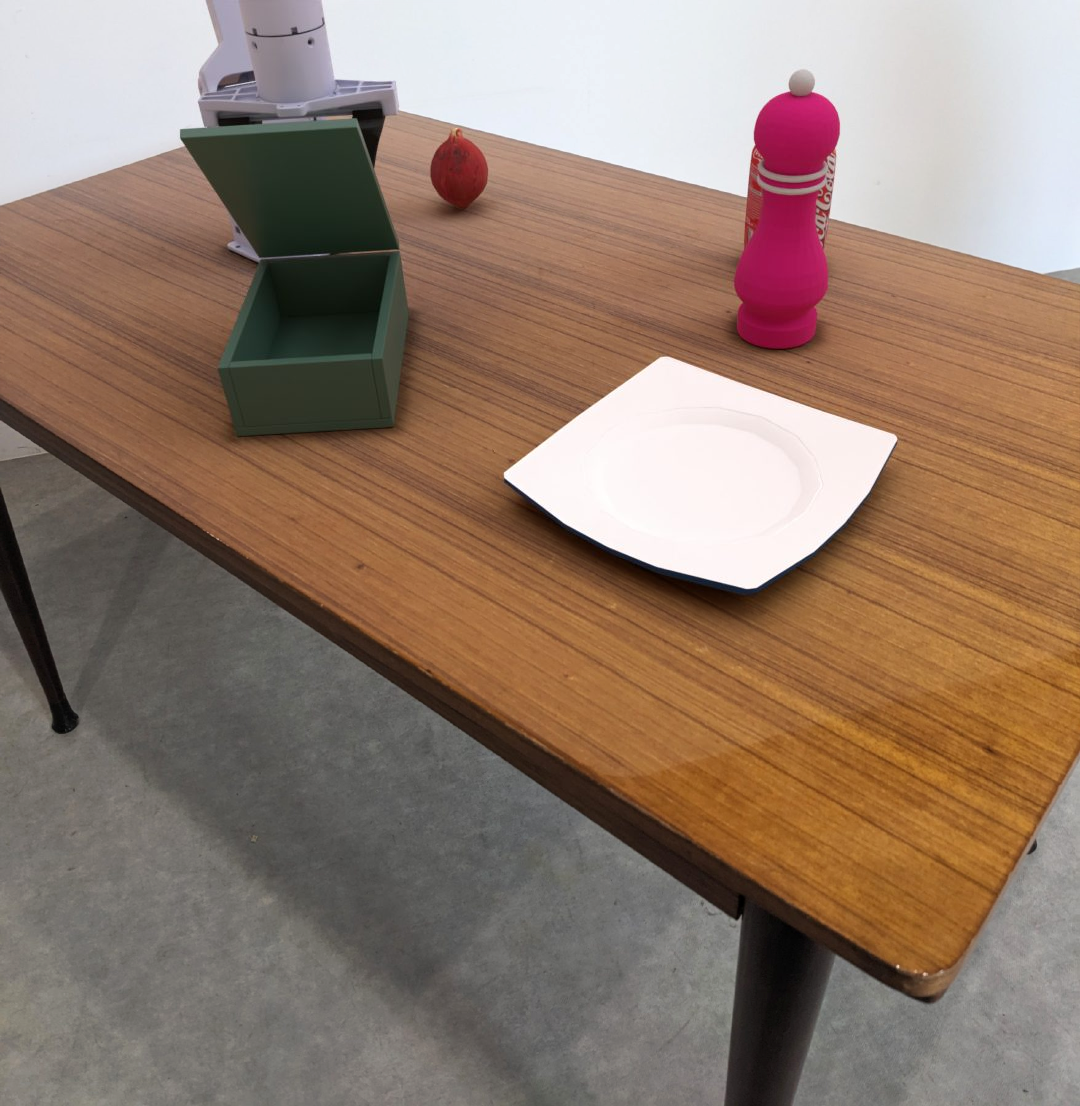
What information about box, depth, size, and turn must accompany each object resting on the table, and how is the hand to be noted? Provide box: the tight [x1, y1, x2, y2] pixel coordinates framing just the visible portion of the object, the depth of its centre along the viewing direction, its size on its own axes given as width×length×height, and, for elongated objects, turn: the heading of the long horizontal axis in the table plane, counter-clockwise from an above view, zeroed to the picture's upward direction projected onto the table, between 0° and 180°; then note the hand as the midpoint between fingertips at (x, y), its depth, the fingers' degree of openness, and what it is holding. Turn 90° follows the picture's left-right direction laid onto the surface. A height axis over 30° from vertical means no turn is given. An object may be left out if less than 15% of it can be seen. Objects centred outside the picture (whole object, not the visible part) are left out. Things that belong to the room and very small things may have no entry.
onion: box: [429, 126, 489, 210], centre depth 105 cm, size 6×6×8 cm
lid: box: [179, 117, 400, 258], centre depth 78 cm, size 18×12×4 cm
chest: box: [217, 250, 410, 437], centre depth 82 cm, size 18×12×6 cm, turn 2°
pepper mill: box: [733, 68, 841, 350], centre depth 79 cm, size 7×7×20 cm
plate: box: [503, 356, 899, 596], centre depth 69 cm, size 20×20×3 cm
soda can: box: [743, 145, 837, 251], centre depth 90 cm, size 7×7×12 cm
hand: (320, 210), depth 84 cm, fingers open, 7 cm apart
